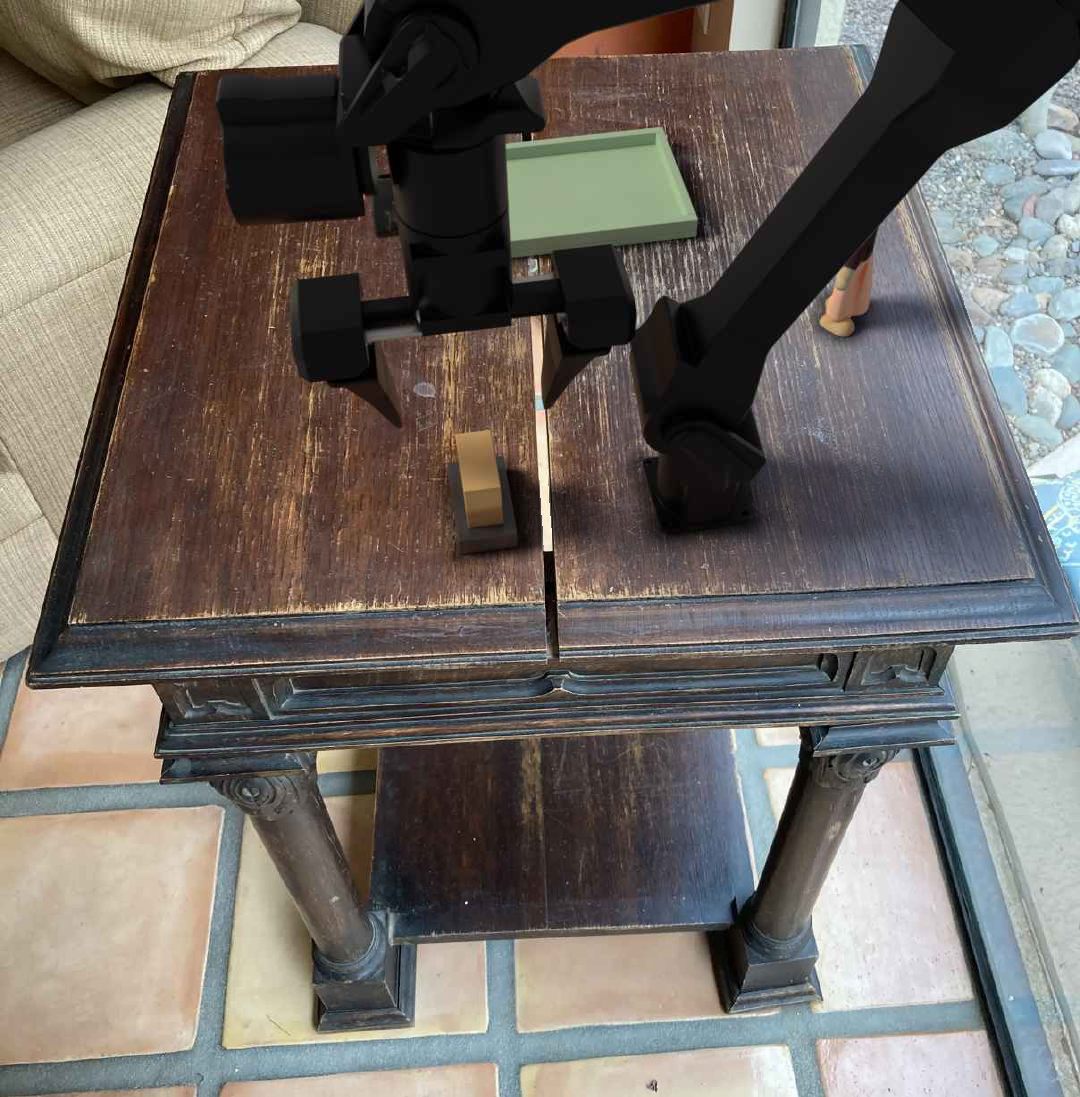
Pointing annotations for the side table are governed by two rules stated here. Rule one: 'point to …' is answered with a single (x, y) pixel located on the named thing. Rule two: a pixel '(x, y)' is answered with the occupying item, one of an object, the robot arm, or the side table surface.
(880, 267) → the side table surface
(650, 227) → the tray
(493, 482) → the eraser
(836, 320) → the grandmother figurine
